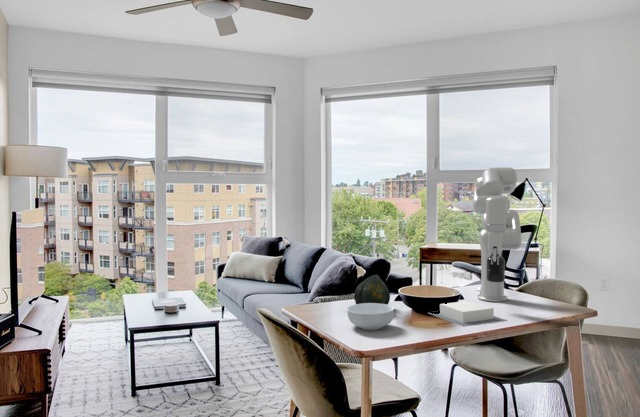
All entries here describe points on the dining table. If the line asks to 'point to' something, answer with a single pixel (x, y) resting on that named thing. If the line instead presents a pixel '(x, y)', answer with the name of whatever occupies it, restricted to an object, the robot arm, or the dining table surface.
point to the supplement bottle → (501, 270)
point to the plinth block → (466, 311)
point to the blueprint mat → (496, 319)
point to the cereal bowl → (370, 315)
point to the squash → (372, 291)
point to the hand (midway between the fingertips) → (495, 272)
